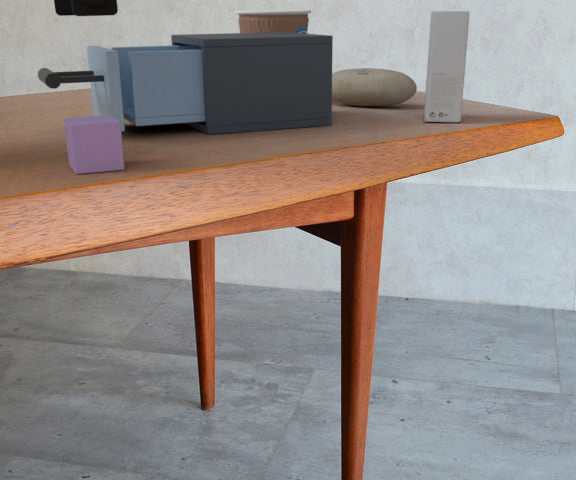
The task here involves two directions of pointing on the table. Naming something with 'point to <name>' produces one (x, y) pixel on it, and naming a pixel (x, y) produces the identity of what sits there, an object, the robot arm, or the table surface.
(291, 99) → the cabinet
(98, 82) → the drawer
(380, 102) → the stone
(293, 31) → the coffee cup
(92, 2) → the robot arm
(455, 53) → the cosmetic box
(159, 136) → the table surface
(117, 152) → the cube
